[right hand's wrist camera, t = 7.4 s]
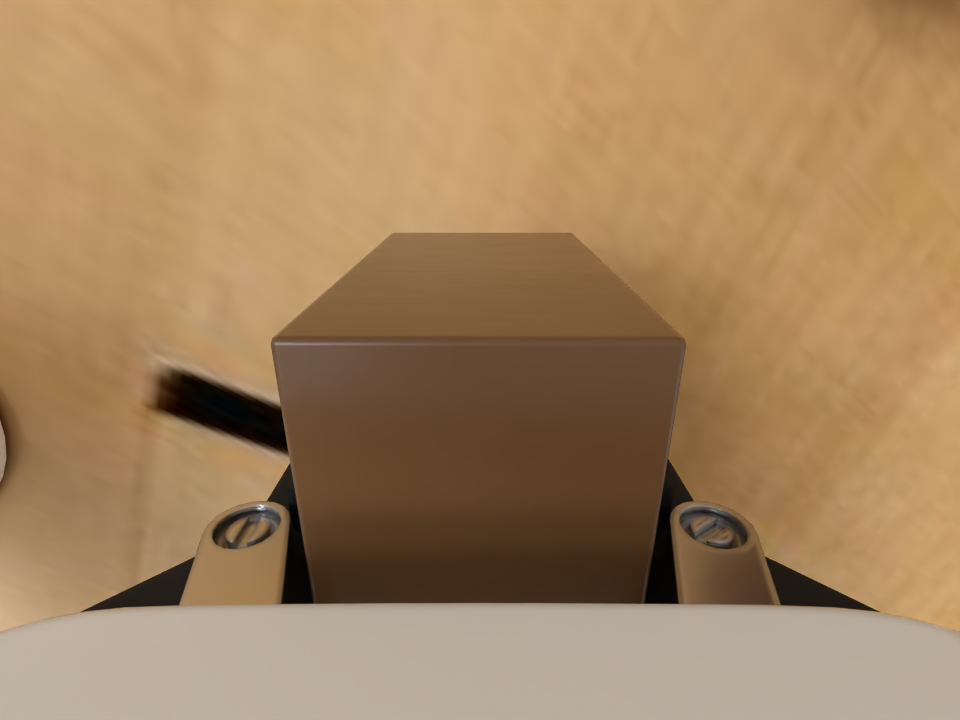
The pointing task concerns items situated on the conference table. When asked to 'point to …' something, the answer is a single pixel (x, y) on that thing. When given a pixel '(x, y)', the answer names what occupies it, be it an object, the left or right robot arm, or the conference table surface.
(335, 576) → the beam
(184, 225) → the conference table surface
